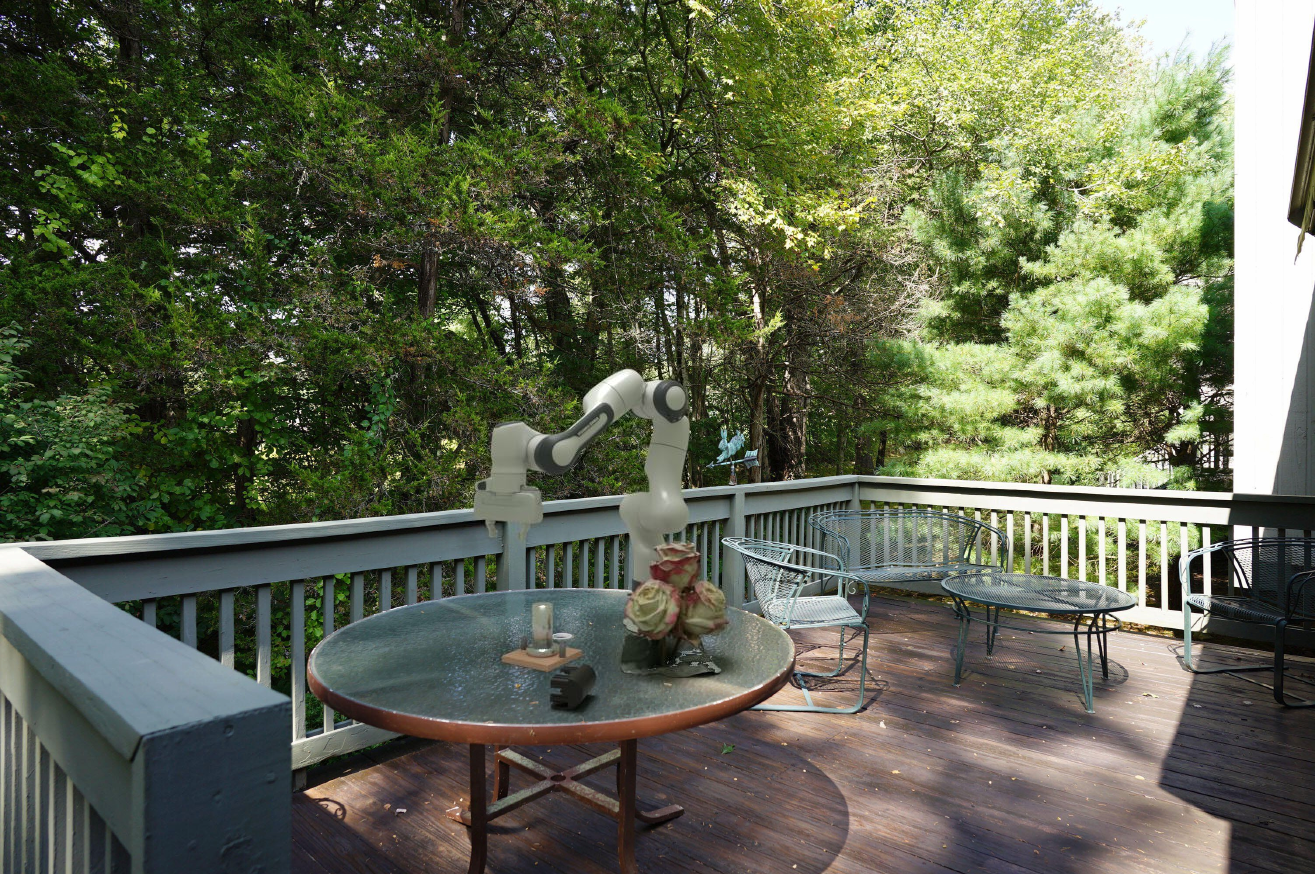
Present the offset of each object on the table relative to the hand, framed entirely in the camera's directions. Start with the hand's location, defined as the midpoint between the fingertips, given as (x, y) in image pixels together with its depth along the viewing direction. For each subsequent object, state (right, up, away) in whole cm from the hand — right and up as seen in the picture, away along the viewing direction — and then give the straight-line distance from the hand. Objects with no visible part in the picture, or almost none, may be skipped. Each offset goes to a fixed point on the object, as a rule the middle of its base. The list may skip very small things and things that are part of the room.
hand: (507, 538), depth 182 cm
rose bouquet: (+43, -30, -5) cm, 53 cm away
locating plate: (+10, -29, -4) cm, 31 cm away
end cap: (+21, -30, -32) cm, 48 cm away
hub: (+10, -28, -4) cm, 30 cm away
